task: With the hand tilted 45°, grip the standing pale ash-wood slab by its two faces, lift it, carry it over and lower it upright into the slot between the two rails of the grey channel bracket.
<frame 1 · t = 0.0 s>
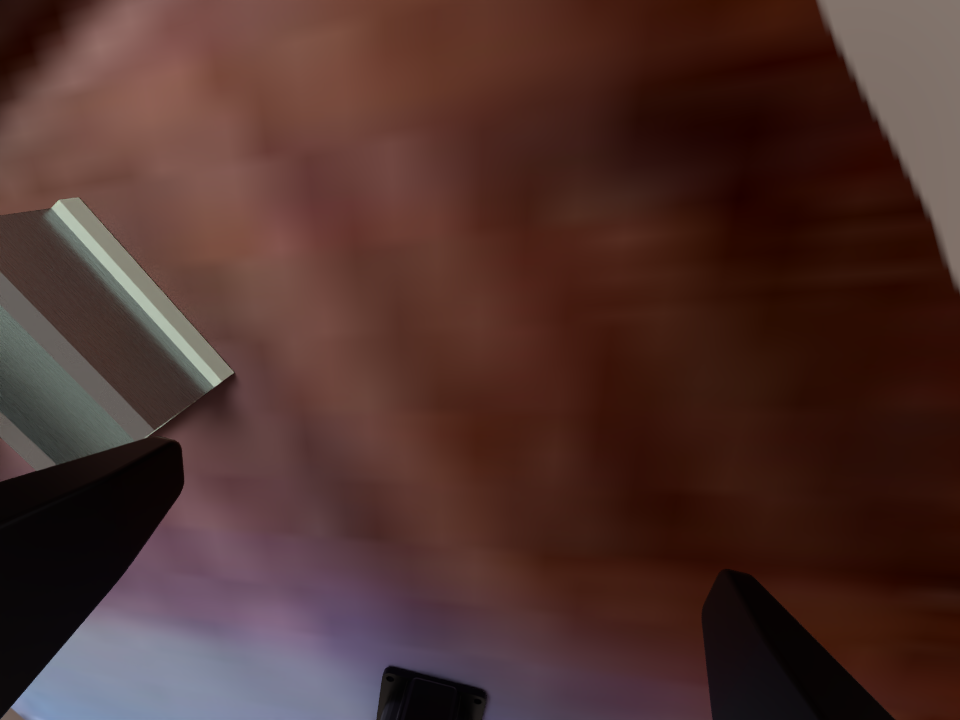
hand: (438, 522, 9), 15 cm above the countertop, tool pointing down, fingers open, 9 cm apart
grey channel bracket: (111, 332, 26), on the countertop
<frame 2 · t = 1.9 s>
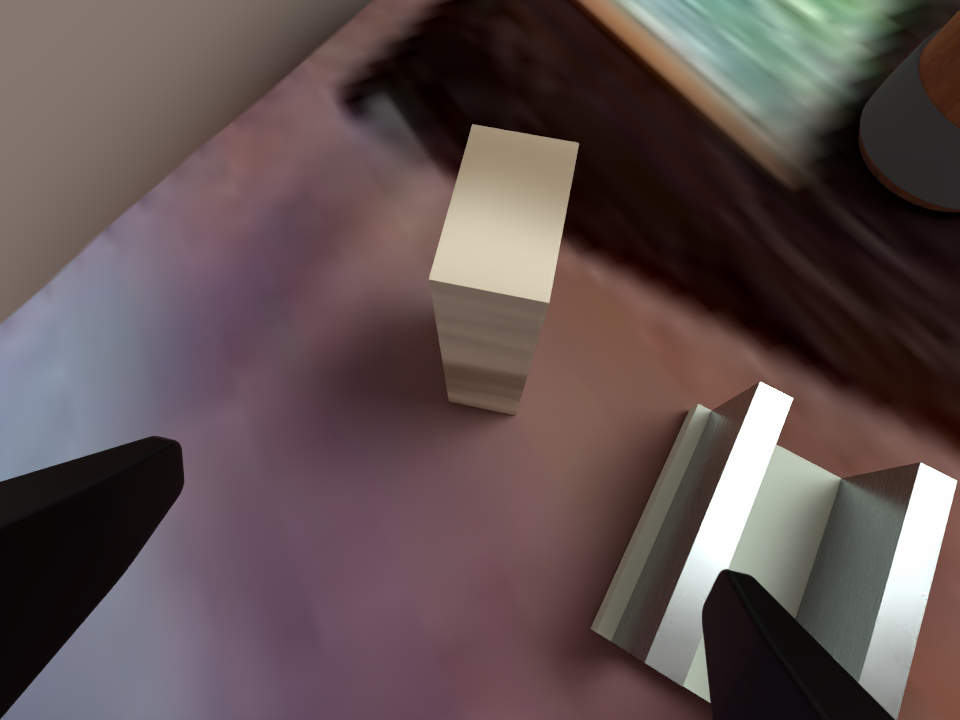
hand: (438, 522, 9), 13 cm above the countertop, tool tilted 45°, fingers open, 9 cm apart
grey channel bracket: (734, 563, 21), on the countertop
mug: (957, 172, 28), on the countertop
ash slab: (493, 356, 24), on the countertop
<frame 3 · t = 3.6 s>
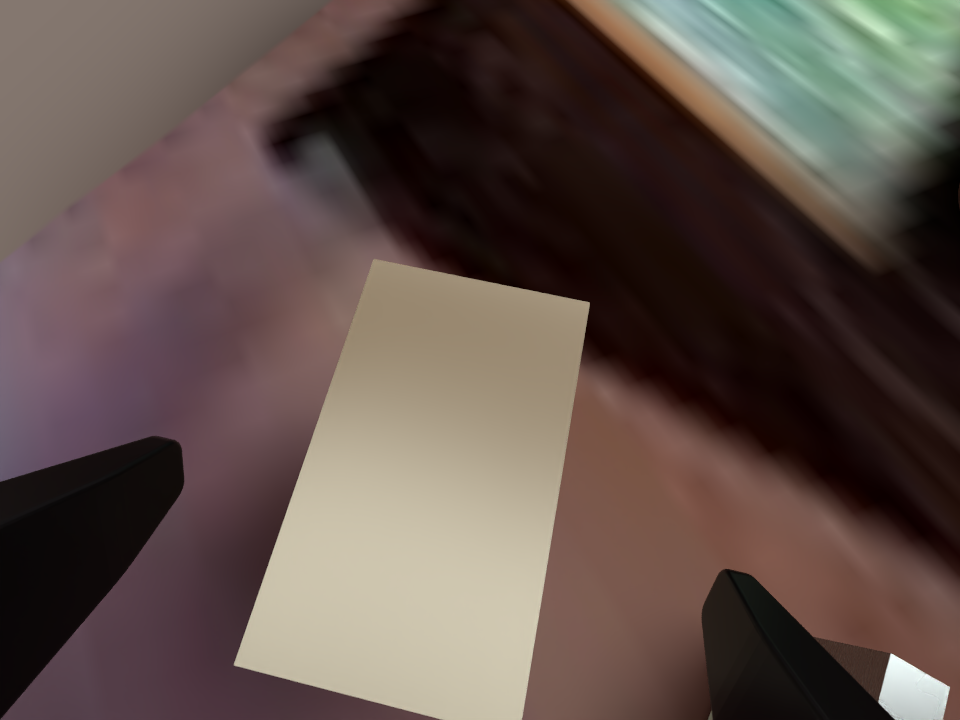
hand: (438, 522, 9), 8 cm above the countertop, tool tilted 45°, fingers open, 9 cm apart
ash slab: (457, 525, 16), on the countertop
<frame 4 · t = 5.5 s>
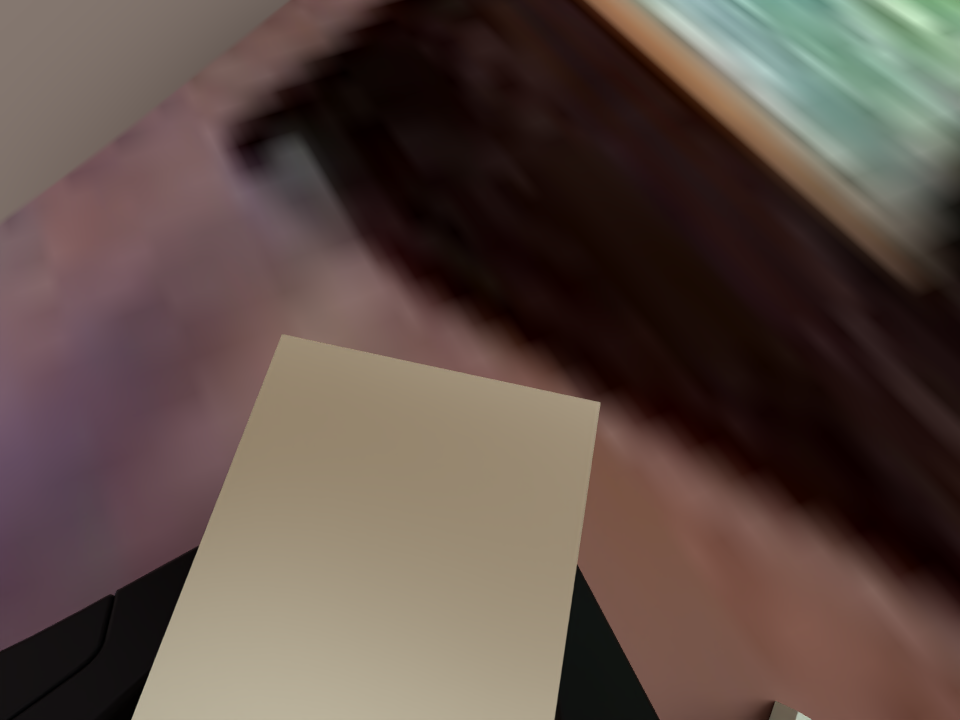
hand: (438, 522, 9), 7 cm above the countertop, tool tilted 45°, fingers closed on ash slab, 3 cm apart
ash slab: (440, 590, 14), on the countertop, touching gripper
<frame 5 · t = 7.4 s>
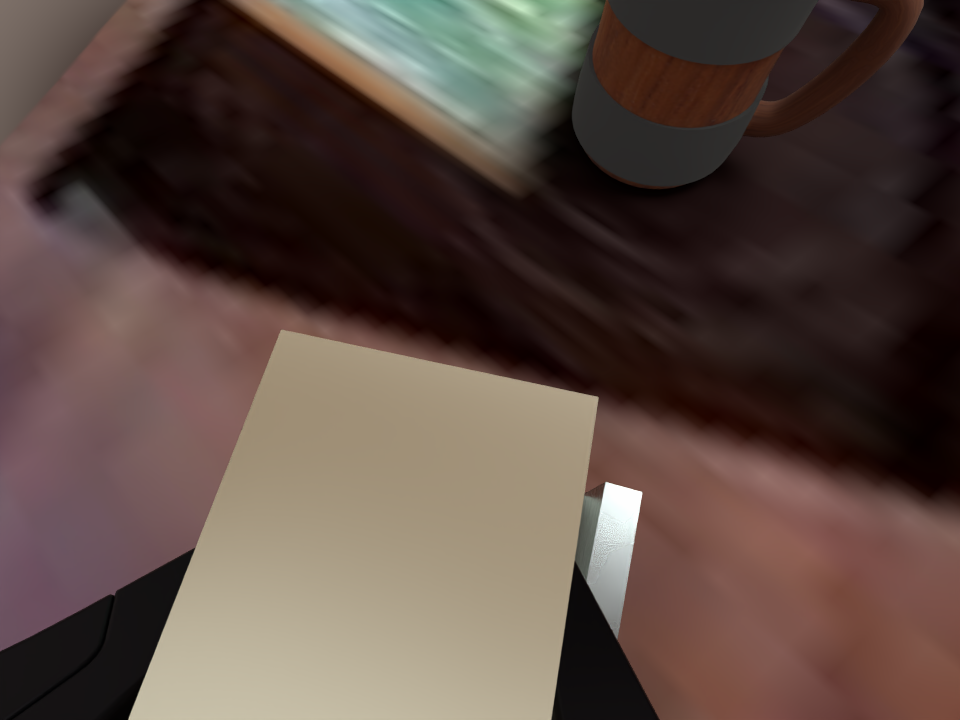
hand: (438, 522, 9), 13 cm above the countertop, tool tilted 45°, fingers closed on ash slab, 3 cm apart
grey channel bracket: (494, 609, 20), on the countertop
mug: (676, 144, 28), on the countertop
ash slab: (440, 588, 14), point 7 cm above the countertop, touching gripper
when the fingers open (9 cm above the countertop, at t = 9.3 s): ash slab drops 1 cm, resting on grey channel bracket.
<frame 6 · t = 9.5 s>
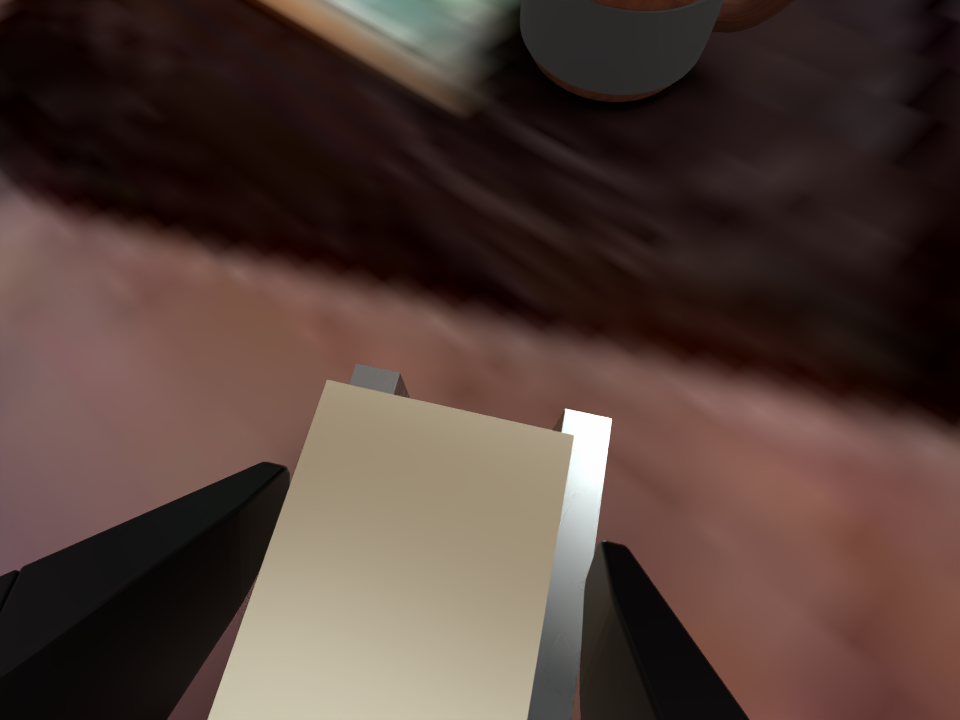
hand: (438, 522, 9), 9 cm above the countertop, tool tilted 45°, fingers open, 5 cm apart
grey channel bracket: (445, 585, 16), on the countertop
mug: (640, 55, 25), on the countertop
ash slab: (444, 586, 16), point 1 cm above the countertop, touching grey channel bracket
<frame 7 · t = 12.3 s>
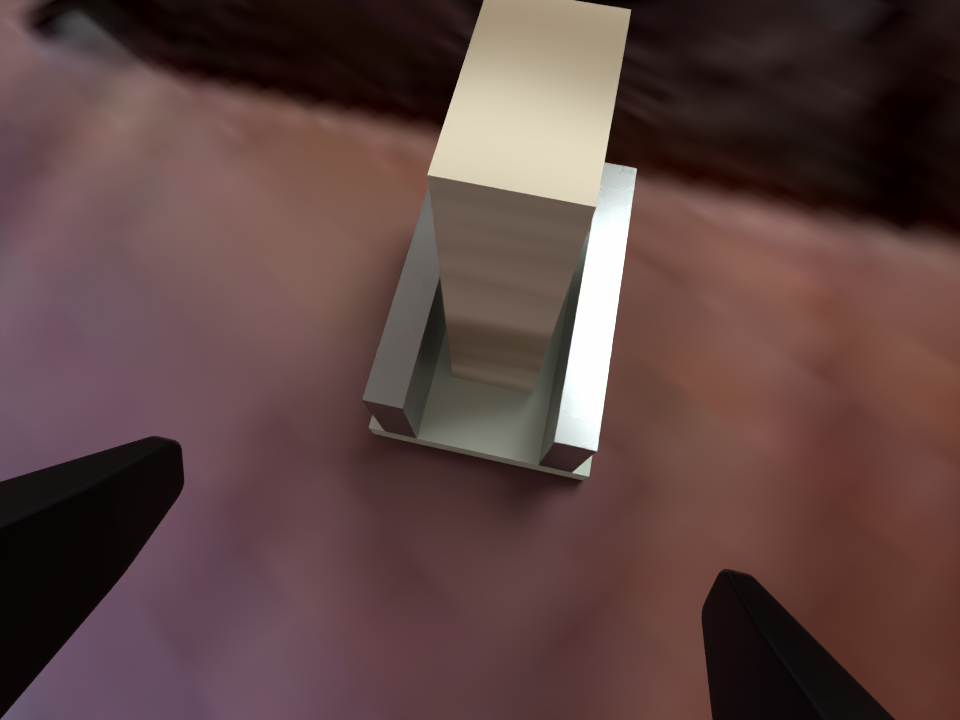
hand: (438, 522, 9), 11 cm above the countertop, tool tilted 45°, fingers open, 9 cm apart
grey channel bracket: (503, 336, 21), on the countertop
ash slab: (505, 325, 20), point 1 cm above the countertop, touching grey channel bracket
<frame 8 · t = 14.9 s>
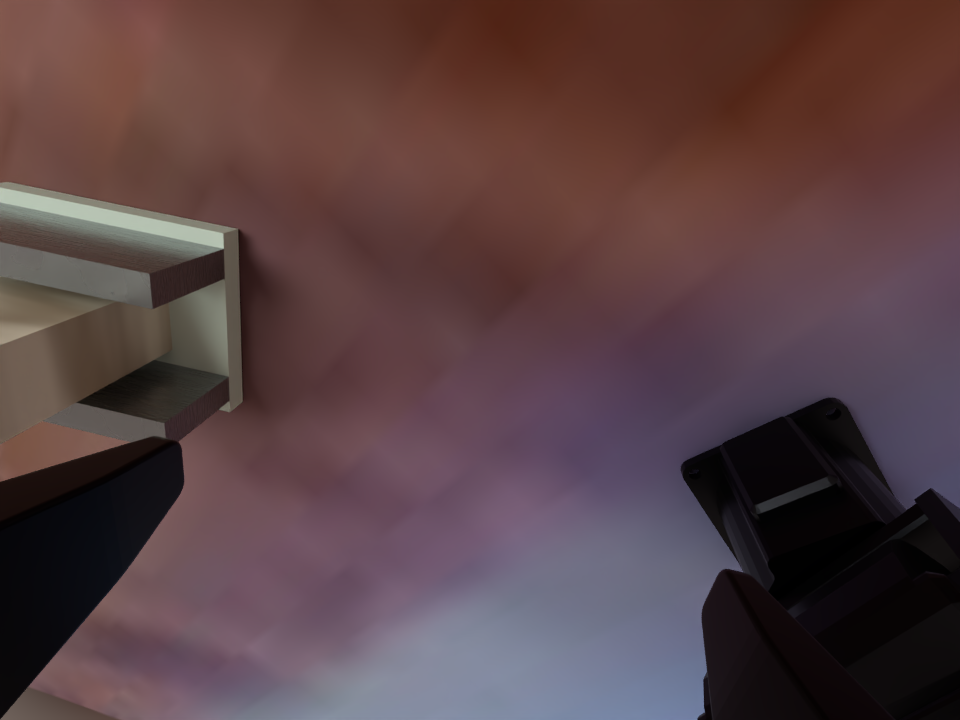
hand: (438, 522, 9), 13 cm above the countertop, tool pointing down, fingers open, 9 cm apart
grey channel bracket: (132, 298, 23), on the countertop
ash slab: (114, 304, 22), point 1 cm above the countertop, touching grey channel bracket
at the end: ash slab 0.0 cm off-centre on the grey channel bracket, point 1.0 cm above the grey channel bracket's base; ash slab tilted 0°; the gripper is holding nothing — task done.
